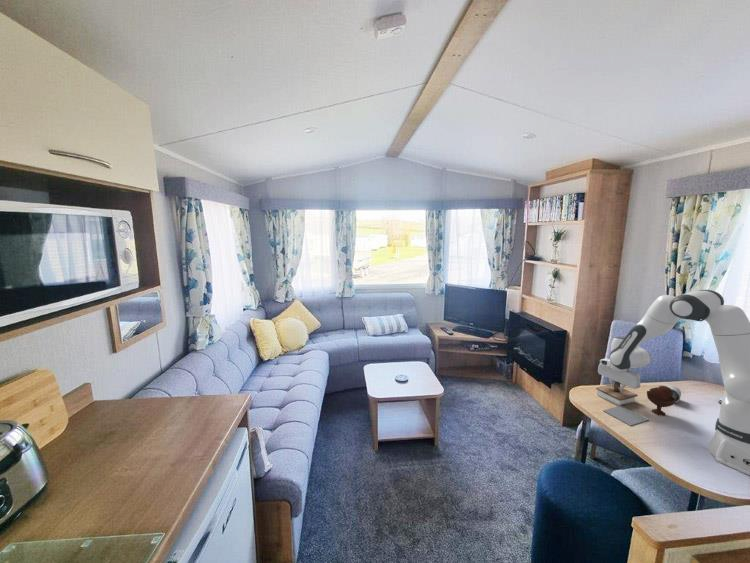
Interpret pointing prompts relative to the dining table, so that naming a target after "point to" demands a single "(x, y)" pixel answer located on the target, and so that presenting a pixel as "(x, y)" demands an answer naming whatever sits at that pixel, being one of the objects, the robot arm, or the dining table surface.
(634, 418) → the mat
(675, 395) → the ceramic mug
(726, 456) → the robot arm
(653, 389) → the ice cream bowl
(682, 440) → the dining table surface
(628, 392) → the lid
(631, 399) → the dish
